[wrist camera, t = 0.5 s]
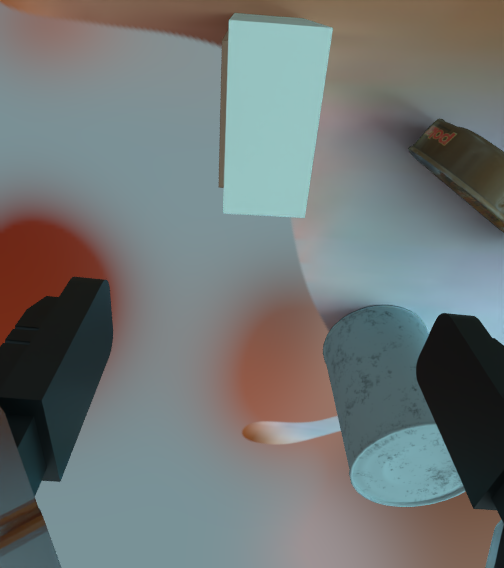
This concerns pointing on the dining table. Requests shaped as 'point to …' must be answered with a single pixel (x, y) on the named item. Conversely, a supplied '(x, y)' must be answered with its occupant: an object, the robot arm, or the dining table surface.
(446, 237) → the dining table surface
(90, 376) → the robot arm
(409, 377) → the grey stone cylinder
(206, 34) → the dining table surface
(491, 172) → the tin
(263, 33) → the carton
